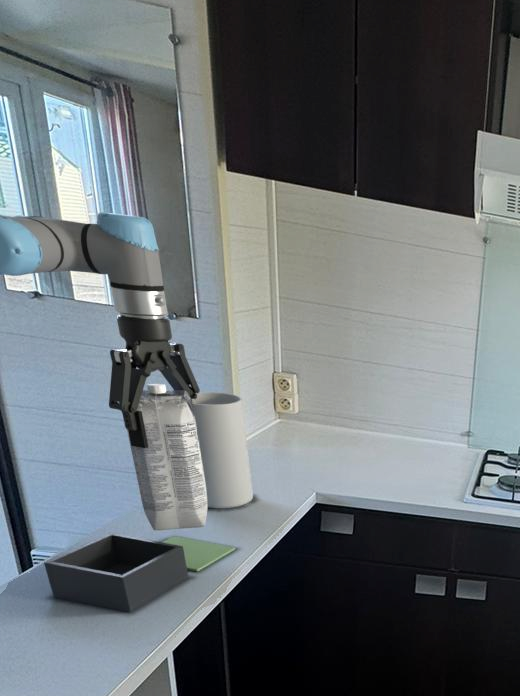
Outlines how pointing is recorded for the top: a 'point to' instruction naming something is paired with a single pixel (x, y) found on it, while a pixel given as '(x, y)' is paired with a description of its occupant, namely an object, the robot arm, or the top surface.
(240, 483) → the cylinder vase
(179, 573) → the box
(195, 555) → the placemat
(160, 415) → the juice carton
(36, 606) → the top surface
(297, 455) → the top surface
